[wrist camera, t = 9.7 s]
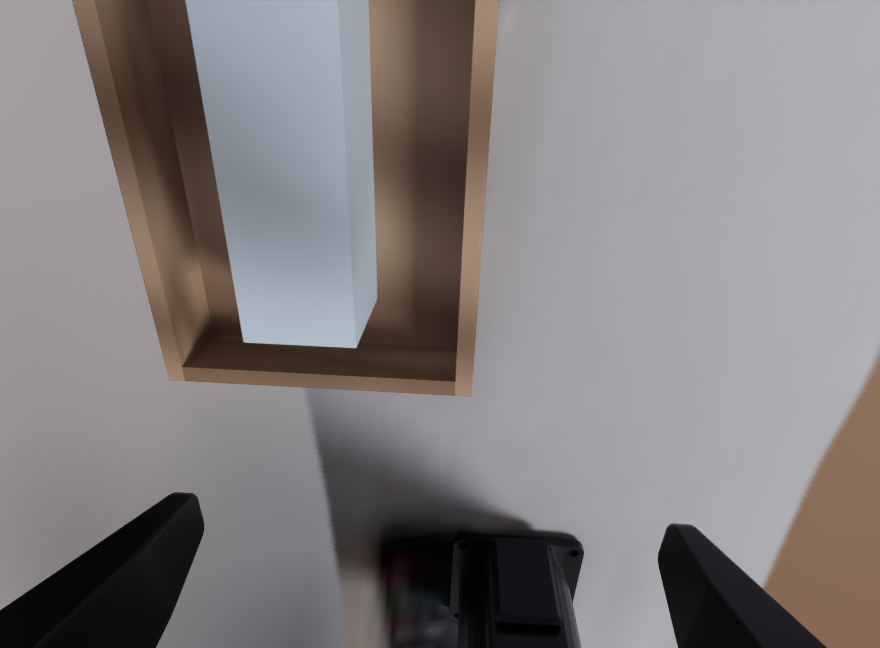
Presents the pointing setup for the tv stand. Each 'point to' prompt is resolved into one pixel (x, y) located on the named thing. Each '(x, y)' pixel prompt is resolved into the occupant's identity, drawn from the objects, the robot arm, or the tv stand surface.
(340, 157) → the long pale blue block
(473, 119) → the open brown box
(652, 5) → the tv stand surface
